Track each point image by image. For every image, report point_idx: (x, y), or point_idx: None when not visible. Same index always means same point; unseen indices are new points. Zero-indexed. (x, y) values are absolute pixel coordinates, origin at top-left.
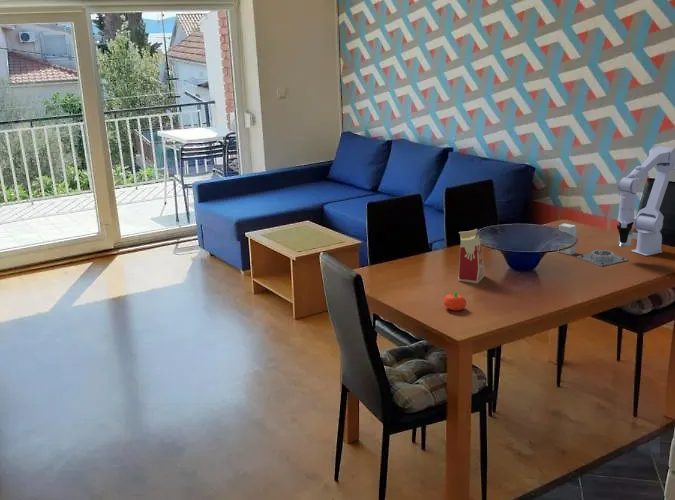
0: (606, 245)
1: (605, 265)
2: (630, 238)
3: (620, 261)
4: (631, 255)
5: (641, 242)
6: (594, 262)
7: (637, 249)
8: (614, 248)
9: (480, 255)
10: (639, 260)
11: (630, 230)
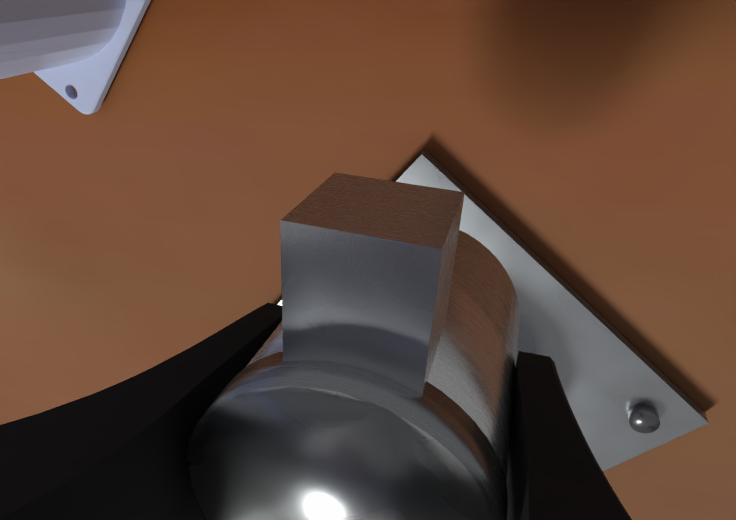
0: (47, 309)
1: (673, 384)
2: (460, 329)
3: (515, 239)
4: (222, 110)
5: (13, 24)
6: (610, 467)
7: (81, 55)
8: (87, 257)
9: None
10: (382, 11)
11: (231, 417)
